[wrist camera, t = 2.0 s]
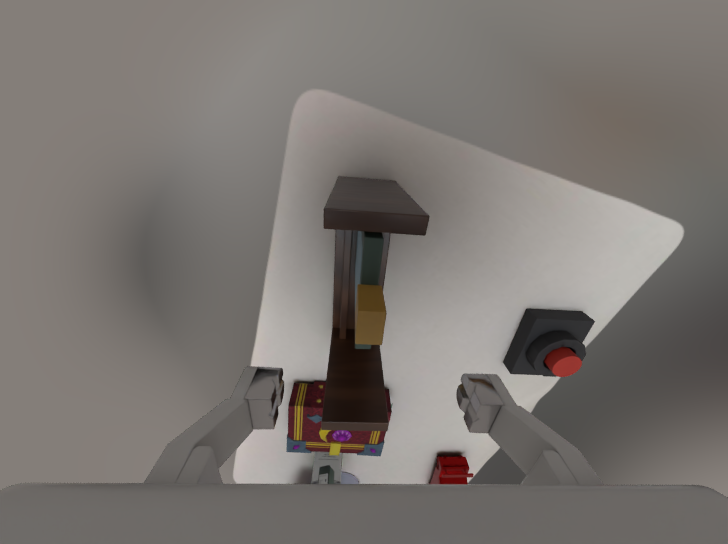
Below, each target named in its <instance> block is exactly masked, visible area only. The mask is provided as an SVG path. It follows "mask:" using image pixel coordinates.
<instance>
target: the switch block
mask: <svg viewBox="0 0 728 544" xmlns="http://www.w3.org/2000/svg"><path fill="white" fill-rule="evenodd" d="M594 322H595V321H594V320H593V319H591V318H590V317H589V316H587V315H586V314H585V313H583V312H581V311H561V310H542V309H526V312H525V314H524V316H523V318H522V321H521V323H520V325H519V328H518V330H517V332H516V334H515V337H514V339H513V341H512V344H511V346H510V348H509V350H508V353H507V355H506V357H505V360H504V362H503V363H504V365H505V366H506V368H507V369H508V371H509V372H510V374H527V375H543V376H553V377H556V375H554V374H553V373H552V371H551V370H550V369H549V368H548V367H547V365H546V364H545V363H544V359H545V357H546V355H547V354H549V353H550V352H551V351H552V350H554V349H557V348H560V347H567V348H569V349H571V350H572V351H573V352H574V353H575V354H576V355H577V356H578V357H579V358H580V359H581V361H582V360H583V359H584V357H585V355H586V353H585V346H584V345H583V344H582V342H583V341H584V339H585V337H586V336H587V334H588V332H589V331H590V329H591V327H592V326H593V324H594Z"/></svg>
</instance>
